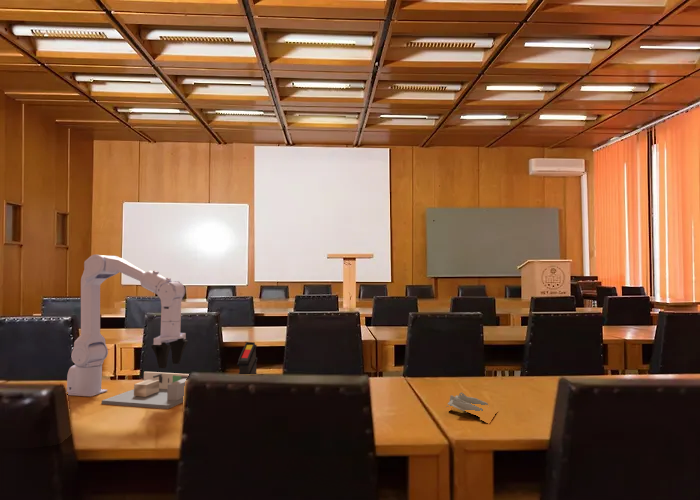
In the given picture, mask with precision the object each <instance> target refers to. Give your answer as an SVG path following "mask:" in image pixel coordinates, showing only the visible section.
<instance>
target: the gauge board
mask: <svg viewBox="0 0 700 500" xmlns="http://www.w3.org/2000/svg"><path fill="white" fill-rule="evenodd" d="M158 374H162V376H161V383H159V392H157V393H154V394H152V395H149V396H146V397H142V396H134V388H133V389H131V390H127V391H125V392H122V393H119V394H116V395H114V396H110V397H108V398H105V399H102V400H101V405H108V406H109V405H110V406H111V405H112V406H122V407H123V406H127V407H137V408H149V409H151V408H152V409H161V410H162V409H164V410H165V409H166V410H169V409H171V408H174V407H176V406H177V405H180V404H182V403H184V402H183V396H184V386H185V381H186V379H187V378H188V376H189V374H190V373H176V372H175V373H174V372H161V371H160V372H159V371H158V372H157V371H144V372H143V381H145V380H159V377H156V378H153V376H155V375H158Z"/></svg>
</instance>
